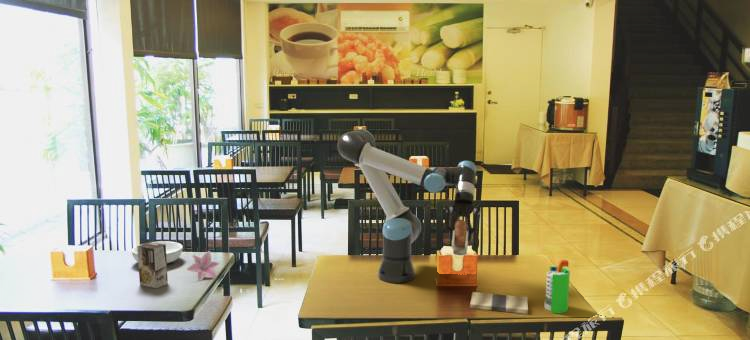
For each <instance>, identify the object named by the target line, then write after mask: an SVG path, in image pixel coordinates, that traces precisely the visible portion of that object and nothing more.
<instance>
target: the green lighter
mask: <svg viewBox="0 0 750 340" xmlns="http://www.w3.org/2000/svg"><path fill="white" fill-rule="evenodd" d="M557 265H558V266H552V265H551V266H549V270H548V271H547V272H546V283H545V284H546V285H545V288H546V289H545V297H546V298H547V299H545V300H544V308H545V310H547V311H550V313H551V314H563V313H566V312H568V311H569V295H570V294H569V291H570V274H571V273H570V270H569V269H568V268H569V260H567V259H561V260H560V261H559V263H558V264H557ZM565 267H568V268H565Z"/></svg>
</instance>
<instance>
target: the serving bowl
mask: <svg viewBox="0 0 750 340" xmlns="http://www.w3.org/2000/svg"><path fill="white" fill-rule="evenodd" d="M151 242H152V243H159V244H165V245H166V260H167V264H170V263H172V262H175V261H177V259H179V258H180V257H181V255H182V252H183V249H184V248H183V247H184V246H183V245H182V244H181V243H179V242H177V241H176V242H175V241H167V240H166V241H164V240H161V241H151ZM142 244H143V243H142ZM142 244H138V245H136V246H134V247H133V248H132V249H131V254H132V257H133V259H134V260H135V261H136V262H137V263H138V252H137V246H139V245H142Z"/></svg>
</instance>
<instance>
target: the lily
mask: <svg viewBox="0 0 750 340" xmlns="http://www.w3.org/2000/svg"><path fill="white" fill-rule="evenodd" d="M192 258H193V260H194V263H192V265H190V266H188V267H187V269H186V271H189V272H192V273H197V277H198V281H199V282H201V281H202V279H203V278H204V277H205V276H207V277H209V278H212V279H214V280H215V279H217V275H216V272H215V269H214V268H216V267H218V266H219V265H220V263H218V261H217V262H216V261H212V255H211V251H210V250H208V251H206V252H205V253H204V254H203V255H202V257H200V256H198V255H192Z"/></svg>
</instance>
